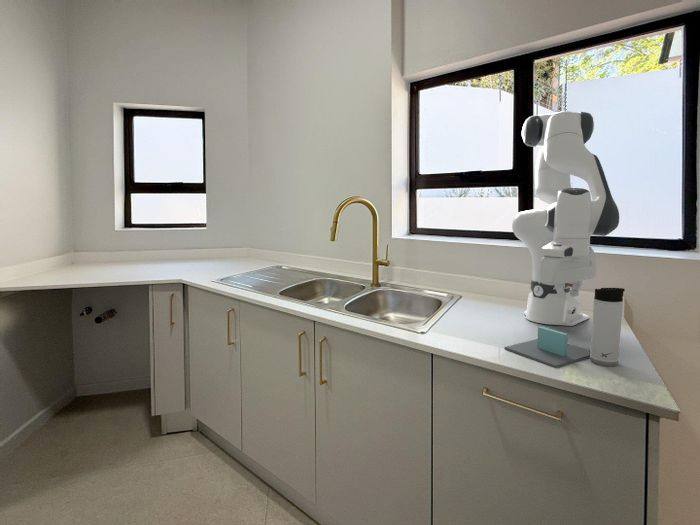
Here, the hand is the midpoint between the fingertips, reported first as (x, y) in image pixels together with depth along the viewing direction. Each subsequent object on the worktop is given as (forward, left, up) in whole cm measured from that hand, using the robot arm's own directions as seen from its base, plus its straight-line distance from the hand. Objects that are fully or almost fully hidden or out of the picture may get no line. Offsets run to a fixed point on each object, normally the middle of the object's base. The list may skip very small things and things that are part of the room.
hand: (567, 297), depth 114 cm
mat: (+5, -1, -15) cm, 16 cm away
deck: (+6, 0, -14) cm, 16 cm away
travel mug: (0, +11, -15) cm, 19 cm away
